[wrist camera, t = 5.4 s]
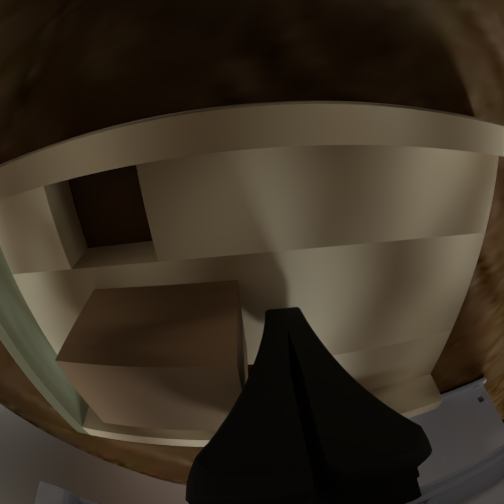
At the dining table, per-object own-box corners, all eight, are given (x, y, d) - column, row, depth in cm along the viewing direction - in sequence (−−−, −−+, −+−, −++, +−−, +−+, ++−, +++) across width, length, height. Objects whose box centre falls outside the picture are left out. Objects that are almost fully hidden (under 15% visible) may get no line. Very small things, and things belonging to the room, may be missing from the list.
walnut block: (237, 279, 11) (237, 365, 7) (247, 351, 13) (250, 429, 9) (94, 289, 11) (54, 360, 8) (125, 354, 13) (103, 422, 10)
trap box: (475, 117, 9) (538, 136, 6) (416, 363, 17) (437, 408, 14) (-10, 169, 10) (-64, 199, 6) (92, 387, 18) (77, 432, 14)
